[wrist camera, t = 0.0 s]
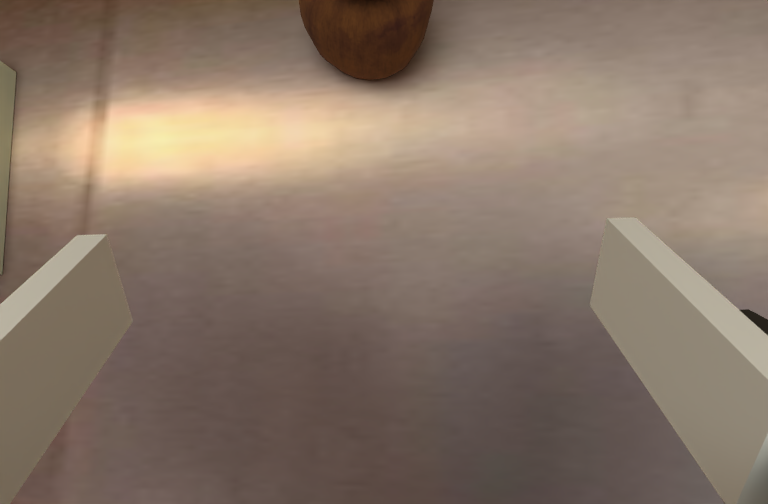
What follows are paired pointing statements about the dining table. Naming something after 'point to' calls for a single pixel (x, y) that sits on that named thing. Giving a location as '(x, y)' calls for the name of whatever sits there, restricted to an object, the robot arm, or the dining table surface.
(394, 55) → the wooden figurine
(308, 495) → the dining table surface
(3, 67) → the dish
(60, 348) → the robot arm
